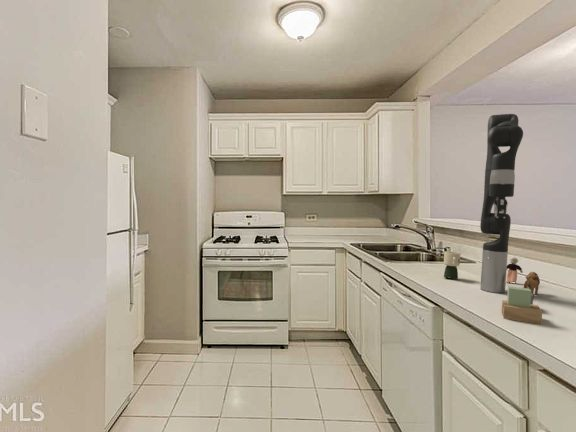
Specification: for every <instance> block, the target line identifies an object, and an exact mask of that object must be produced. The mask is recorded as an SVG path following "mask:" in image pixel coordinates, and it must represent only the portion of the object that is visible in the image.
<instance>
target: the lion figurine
mask: <svg viewBox="0 0 576 432" xmlns="http://www.w3.org/2000/svg"><path fill="white" fill-rule="evenodd" d="M525 279H526V280H525V281H524V284H523V288H527V289H530V290H531V293H532V294H533V298H536V297H537V296H538V295H539V293H538V292H539V286H540V284H541V283H540V276H539V275H538V273H536V272H535V271H530V272H529V273H528V274H527V275H525ZM536 294H537V296H536Z"/></svg>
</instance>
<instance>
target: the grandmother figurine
mask: <svg viewBox="0 0 576 432" xmlns="http://www.w3.org/2000/svg"><path fill="white" fill-rule="evenodd" d="M509 261H510V263H507V275H506V282H511V283H512V282H515V283H517V279H518V271H519V273H521V274H522V273H523V272H524V271H523V268H522V267H521V266H520V265H518V264H517V263H518V262H519V259H518V258H517V257H516V256H511V257H510V258H509Z"/></svg>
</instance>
